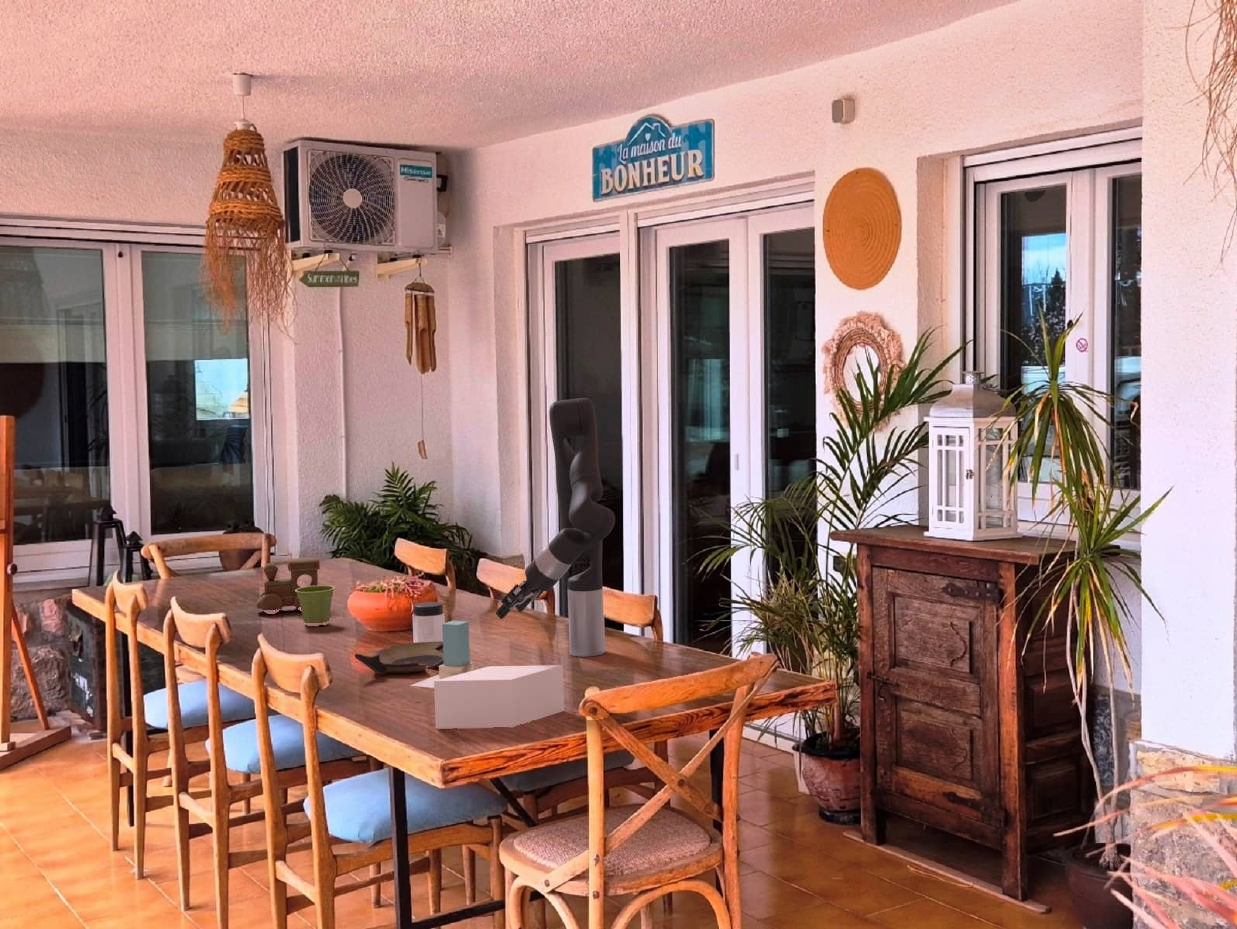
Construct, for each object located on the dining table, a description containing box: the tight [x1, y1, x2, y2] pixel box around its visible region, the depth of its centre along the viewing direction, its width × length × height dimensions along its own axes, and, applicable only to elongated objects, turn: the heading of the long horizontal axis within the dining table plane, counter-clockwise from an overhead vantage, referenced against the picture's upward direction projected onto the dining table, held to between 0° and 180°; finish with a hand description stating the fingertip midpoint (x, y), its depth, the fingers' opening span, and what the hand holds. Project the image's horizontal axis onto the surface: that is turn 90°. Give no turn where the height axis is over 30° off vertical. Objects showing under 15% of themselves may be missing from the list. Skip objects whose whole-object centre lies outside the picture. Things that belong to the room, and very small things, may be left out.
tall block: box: [442, 620, 471, 667], centre depth 314 cm, size 4×4×10 cm
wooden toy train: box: [256, 557, 321, 611], centre depth 425 cm, size 20×11×17 cm, turn 107°
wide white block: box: [433, 664, 565, 730], centre depth 281 cm, size 14×29×10 cm, turn 115°
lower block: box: [438, 661, 475, 680], centre depth 314 cm, size 6×6×4 cm
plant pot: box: [295, 585, 336, 623], centre depth 398 cm, size 12×12×11 cm
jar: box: [412, 601, 446, 643], centre depth 360 cm, size 9×8×12 cm
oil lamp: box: [354, 641, 444, 675], centre depth 331 cm, size 22×30×8 cm
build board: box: [409, 674, 439, 689], centre depth 314 cm, size 16×16×1 cm
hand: (508, 612), depth 309 cm, fingers open, 8 cm apart
